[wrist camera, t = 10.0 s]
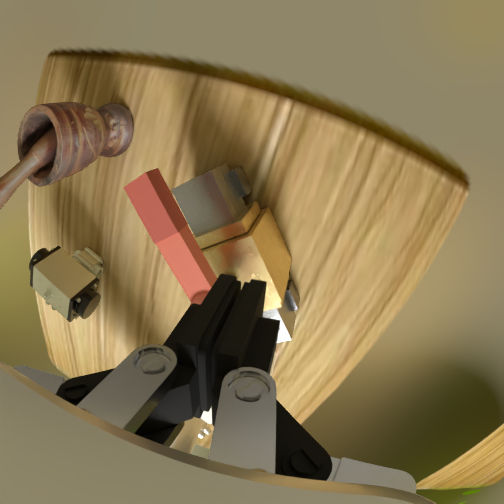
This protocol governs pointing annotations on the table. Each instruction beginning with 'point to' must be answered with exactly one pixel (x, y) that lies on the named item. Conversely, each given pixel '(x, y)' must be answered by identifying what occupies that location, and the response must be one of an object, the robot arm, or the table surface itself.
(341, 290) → the table surface
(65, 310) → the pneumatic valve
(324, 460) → the robot arm
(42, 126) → the mortar and pestle
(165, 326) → the table surface
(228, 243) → the valve pipe
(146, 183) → the lever
